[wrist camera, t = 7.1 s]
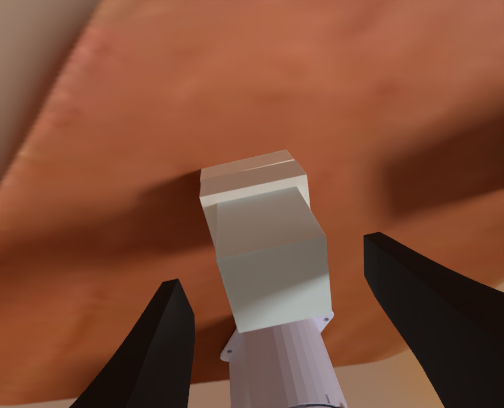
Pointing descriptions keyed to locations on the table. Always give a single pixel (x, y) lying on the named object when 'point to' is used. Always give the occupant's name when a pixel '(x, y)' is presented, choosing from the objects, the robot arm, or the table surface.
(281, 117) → the table surface
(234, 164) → the cream slab
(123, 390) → the robot arm
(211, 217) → the beige block
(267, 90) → the table surface
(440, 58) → the table surface
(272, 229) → the pale blue block
